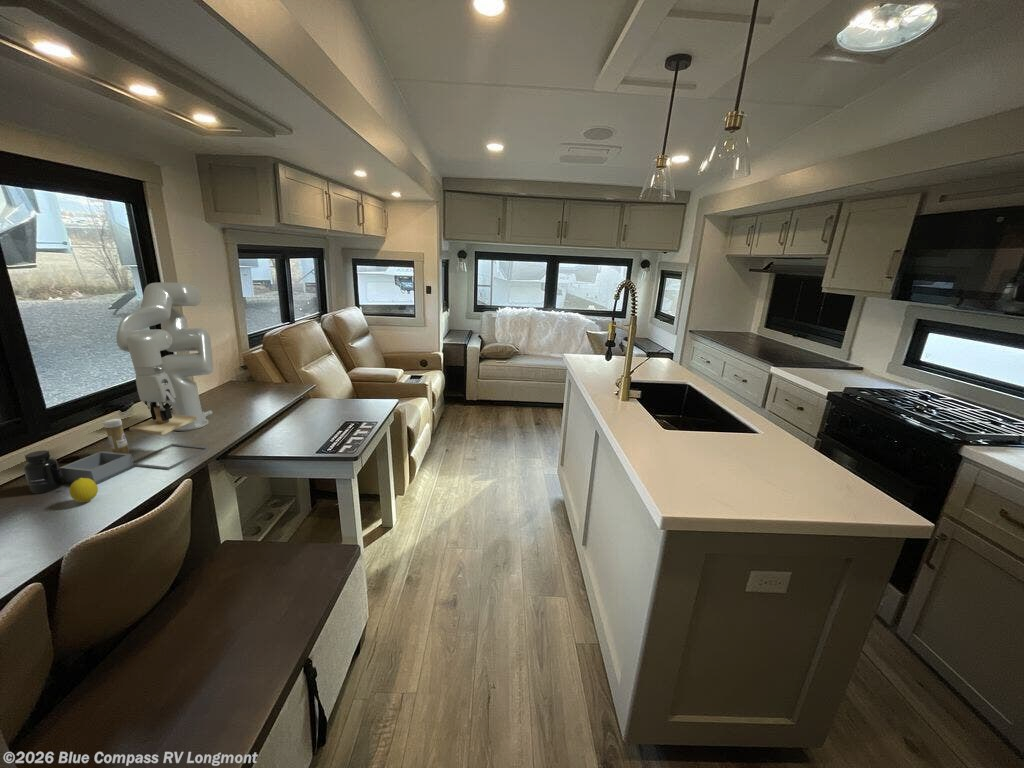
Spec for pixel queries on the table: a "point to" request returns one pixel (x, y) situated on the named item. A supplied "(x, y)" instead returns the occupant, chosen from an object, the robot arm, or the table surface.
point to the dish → (97, 467)
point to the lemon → (83, 490)
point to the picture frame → (174, 464)
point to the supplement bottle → (42, 472)
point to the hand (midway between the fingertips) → (162, 418)
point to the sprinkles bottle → (116, 436)
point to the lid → (162, 423)
